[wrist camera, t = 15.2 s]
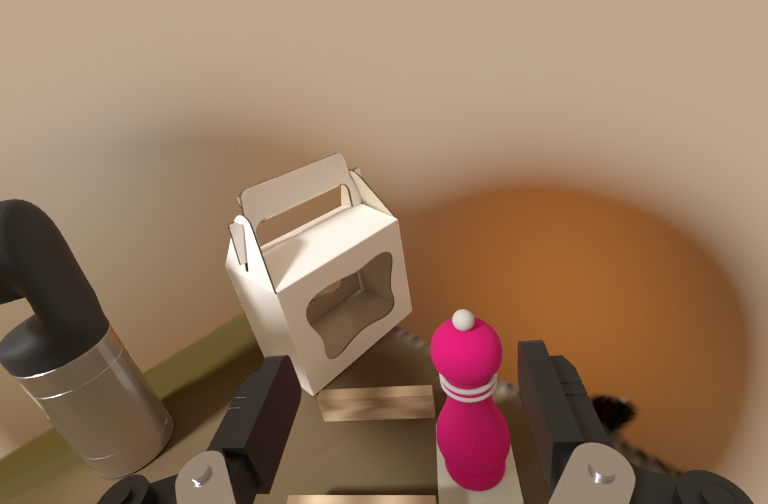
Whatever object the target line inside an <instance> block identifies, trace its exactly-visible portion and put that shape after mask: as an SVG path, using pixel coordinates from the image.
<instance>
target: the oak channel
mask: <svg viewBox="0 0 768 504" xmlns="http://www.w3.org/2000/svg"><path fill="white" fill-rule="evenodd" d="M317 402H318V405H319V408H320V410H321V413H322V416H323V419H324V421H355V420H387V419H418V418H436V412H435V402H434V395H433V388H432V385H418V386H396V387H374V388H352V389H330V390H319V394H318V397H317ZM286 504H437V502H436V496H435V495H289V497H288V500H287V503H286Z"/></svg>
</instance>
